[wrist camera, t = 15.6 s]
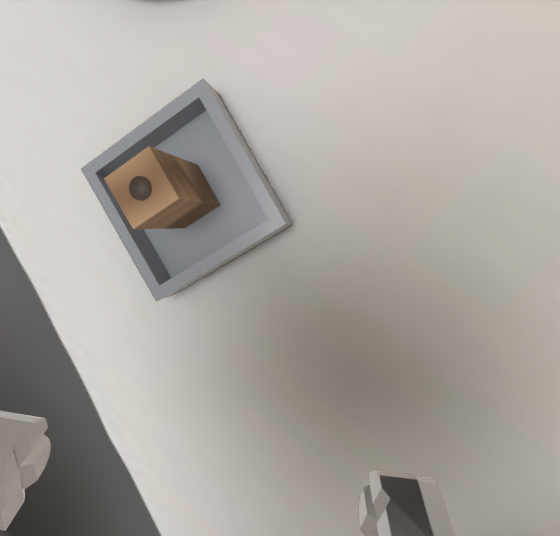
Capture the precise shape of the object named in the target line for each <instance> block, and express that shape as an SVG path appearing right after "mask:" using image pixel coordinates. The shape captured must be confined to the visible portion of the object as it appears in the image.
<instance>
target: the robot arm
mask: <svg viewBox="0 0 560 536" xmlns="http://www.w3.org/2000/svg"><path fill="white" fill-rule="evenodd" d="M47 428H48V427H47V423H46V419H45V418H40V417H34V416H28V415H22V414H16V413H10V412H4V411H0V530H6V529H7V527H8V526H9V524H10V523H11V521H12V519H13V518H14V516H15V514H16V513H17V511H18V510H19V508H20V507H21V505H22V504H23V502H24V500H25V494H24V489H25V488H26V487H28V486H30V485H31V484H33V483H34V482H36V481H37V479H38V478H39V476H40V475H41V473H42V471H43V470H44V468H45V465H46V463H47V460H48V458H49V454H50V447H51V446H50V440H49V439H48V438H47V437H46V436H45V435H44V432H45V430H46V429H47ZM369 483H370V485H368V486H366V487H364V488H363V490H362V492H361V495H360V499H359V506H358V511H359V524H360V529H361V530H362V532H363V533H364V535H365V536H455V534H454V531H453V528H452V526H451V523H450V520H449V517H448V514H447V511H446V508H445V505H444V502H443V499H442V496H441V493H440V490H439V488H438V485H437V483H436V481H435V480H434V479H433V478H430V477H423V476H415V475H412V474H406V473H399V472H391V471H384V470H377V469H375V470H373V471H372V472H371V473H370V475H369Z"/></svg>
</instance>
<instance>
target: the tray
mask: <svg viewBox="0 0 560 536" xmlns="http://www.w3.org/2000/svg"><path fill="white" fill-rule="evenodd" d="M148 146H150V147H153V148H155V149H158V150H161V151H163V152H166V153H168V154H171V155H174V156H176V157H179V158H181V159H184V160H187V161H189V162H192V163H194V164H197V165H198V166H199V167H200V169H201V171H202V173H203V174H204V176H205V178H206V180H207V181H208V183H209V185H210V187H211V188H212V190H213V192H214V194H215V195H216V197H217V199H218V201H219V202H220V204H221V205H220V206H219V207H217V208H215V209H214V210H212V211H211V212H209V213H208V214H206V215H205V216H203V217H201V218H200V219H198V220H197V221H195V222H194V223H192V224H191V225H189V226H187V227H186V228H177V229H133V228H132V227H131V225H130V223H129V221H128V220H127V218H126V216H125V214H124V213H123V211H122V209H121V207H120V206H119V204H118V202H117V200H116V199H115V197H114V195H113V193H112V192H111V190H110V188H109V186H108V185H107V183H106V181H105V179H104V178H105V177H107V176H108V175H110V174H111V173H112V172H114V171H115V170H117V169H118V168H119V167H121V166H122V165H123V164H125V163H126V162H128V161H129V160H130V159H132V158H133V157H134V156H136V155H137V154H139V153H140V152H141V151H143V150H144V149H146V148H147V147H148ZM81 170H82V172H83V174H84V175H85V177H86V179H87V181H88V182H89V184H90V186H91V188H92V189H93V191H94V193H95V195H96V197H97V198H98V200H99V202H100V204H101V205H102V207H103V209H104V211H105V212H106V214H107V216H108V218H109V219H110V221H111V223H112V225H113V226H114V228H115V230H116V232H117V233H118V235H119V237H120V239H121V241H122V242H123V244H124V246H125V248H126V249H127V251H128V253H129V255H130V256H131V258H132V260H133V262H134V263H135V265H136V267H137V269H138V270H139V272H140V274H141V276H142V277H143V279H144V281H145V283H146V285H147V286H148V288H149V290H150V292H151V293H152V295H153V297H154V299H155V300H156V301H158V300H161V299H164V298H166V297H169V296H171V295H174V294H176V293H178V292H179V291H181V290H183V289H185V288H186V287H188V286H190V285H191V284H193V283H195V282H196V281H198V280H200V279H201V278H203V277H205V276H206V275H208V274H210V273H211V272H213V271H215V270H217V269H218V268H220V267H222V266H223V265H225V264H227V263H228V262H230V261H232V260H233V259H235V258H237V257H238V256H240V255H242V254H244V253H245V252H247V251H249V250H250V249H252V248H254V247H255V246H257V245H259V244H260V243H262V242H264V241H265V240H267V239H269V238H270V237H272V236H274V235H276V234H277V233H279V232H281V231H282V230H284V229H286V228H287V227H289V226H291V225H292V224H293V223H292V222H291V220H290V218H289V216H288V214H287V213H286V211H285V209H284V207H283V206H282V204H281V202H280V200H279V199H278V197H277V195H276V193H275V192H274V190H273V188H272V186H271V185H270V183H269V181H268V179H267V178H266V176H265V174H264V172H263V170H262V169H261V167H260V165H259V163H258V162H257V160H256V158H255V156H254V155H253V153H252V151H251V149H250V148H249V146H248V144H247V142H246V141H245V139H244V137H243V135H242V133H241V132H240V130H239V128H238V126H237V125H236V123H235V121H234V119H233V118H232V116H231V114H230V112H229V111H228V109H227V107H226V105H225V104H224V102H223V100H222V98H221V97H220V95H219V93H218V92H217V91H216V90H215V89H214V88H212V87H211V86H210V85H209V84H208V83H207V82H206V81H205V80H204V79H201V80H200V81H199V82H197V83H196V84H195V85H193V86H192V87H191V88H189V89H188V90H187V91H185V92H184V93H183V94H181V95H180V96H178V97H177V98H176V99H174V100H173V101H172V102H170V103H169V104H168V105H166V106H165V107H164V108H162V109H161V110H160V111H158V112H157V113H155V114H154V115H153V116H151V117H150V118H149V119H147V120H146V121H145V122H143V123H142V124H141V125H139V126H138V127H137V128H135V129H134V130H133V131H131V132H130V133H128V134H127V135H126V136H124V137H123V138H122V139H120V140H119V141H118V142H116V143H115V144H114V145H112V146H111V147H110V148H108V149H107V150H106V151H104V152H103V153H101V154H100V155H99V156H97V157H96V158H95V159H93V160H92V161H91V162H89V163H88V164H87V165H85V166H84V167H83V168H81Z"/></svg>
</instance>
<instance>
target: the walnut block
mask: <svg viewBox="0 0 560 536" xmlns="http://www.w3.org/2000/svg"><path fill="white" fill-rule="evenodd" d="M104 179H105V181H106V183H107V185H108V186H109V188H110V190H111V192H112V193H113V195H114V197H115V199H116V200H117V202H118V204H119V206H120V207H121V209H122V211H123V213H124V214H125V216H126V218H127V220H128V221H129V223H130V225H131V227H132V228H133V229H177V228H186V227H187V226H189V225H191V224H192V223H194V222H195V221H197V220H198V219H200V218H201V217H203V216H205V215H206V214H208V213H209V212H211V211H212V210H214V209H215V208H217V207H219V206H220V205H221V204H220V202H219V201H218V199H217V197H216V195H215V194H214V192H213V190H212V188H211V187H210V185H209V183H208V181H207V180H206V178H205V176H204V174H203V173H202V171H201V169H200V167H199V166H198V165H197V164H194V163H192V162H189V161H187V160H184V159H181V158H179V157H176V156H174V155H171V154H168V153H166V152H163V151H161V150H158V149H155V148H153V147H150V146H148V147H147V148H146V149H144V150H143V151H141V152H140V153H139V154H137V155H136V156H134V157H133V158H132V159H130V160H129V161H128V162H126V163H125V164H123V165H122V166H121V167H119V168H118V169H117V170H115V171H114V172H112V173H111V174H110V175H108V176H107V177H105V178H104Z"/></svg>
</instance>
